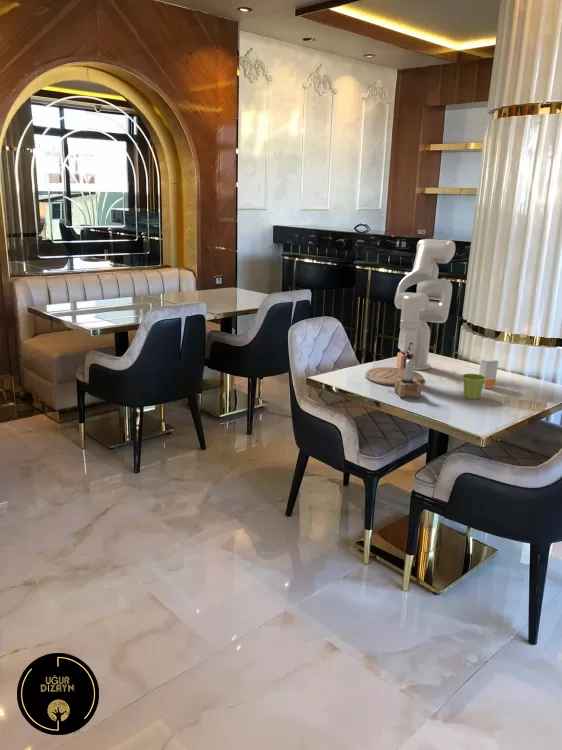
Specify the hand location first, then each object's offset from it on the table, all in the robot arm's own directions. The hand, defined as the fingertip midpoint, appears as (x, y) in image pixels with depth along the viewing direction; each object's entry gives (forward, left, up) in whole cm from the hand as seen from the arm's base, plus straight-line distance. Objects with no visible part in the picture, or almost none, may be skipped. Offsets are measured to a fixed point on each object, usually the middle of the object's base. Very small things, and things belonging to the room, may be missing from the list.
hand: (405, 365), depth 266 cm
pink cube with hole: (0, 0, -1) cm, 1 cm away
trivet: (-5, -3, -8) cm, 10 cm away
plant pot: (+21, +22, -8) cm, 31 cm away
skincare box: (+7, +34, -8) cm, 36 cm away
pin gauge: (+18, -4, -7) cm, 20 cm away
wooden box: (+18, -4, -8) cm, 20 cm away
